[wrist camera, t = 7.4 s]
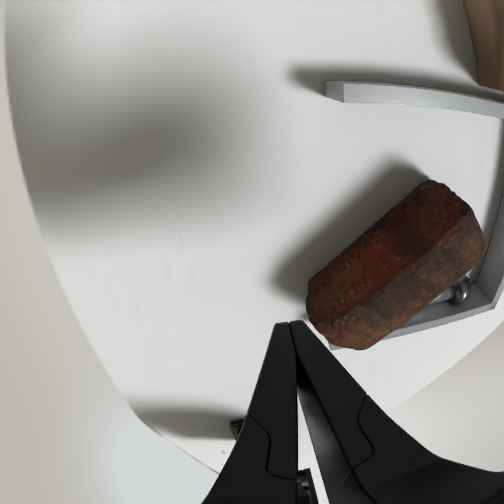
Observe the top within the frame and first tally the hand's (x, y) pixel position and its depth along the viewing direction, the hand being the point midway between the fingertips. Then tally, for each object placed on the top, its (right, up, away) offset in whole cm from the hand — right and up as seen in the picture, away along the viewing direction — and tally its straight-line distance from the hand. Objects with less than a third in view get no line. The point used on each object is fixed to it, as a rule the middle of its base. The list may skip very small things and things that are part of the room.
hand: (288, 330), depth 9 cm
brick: (+7, +3, +9) cm, 12 cm away
